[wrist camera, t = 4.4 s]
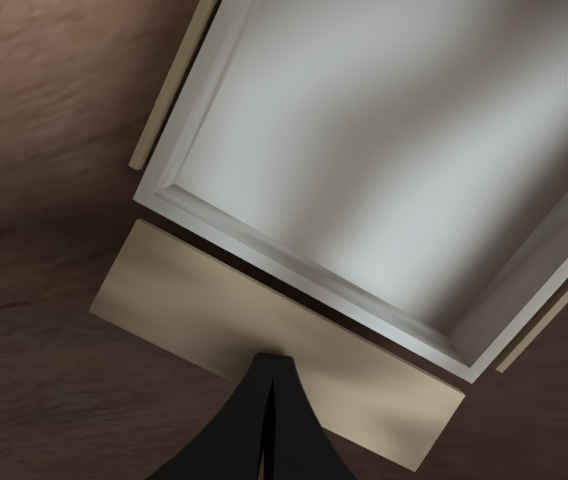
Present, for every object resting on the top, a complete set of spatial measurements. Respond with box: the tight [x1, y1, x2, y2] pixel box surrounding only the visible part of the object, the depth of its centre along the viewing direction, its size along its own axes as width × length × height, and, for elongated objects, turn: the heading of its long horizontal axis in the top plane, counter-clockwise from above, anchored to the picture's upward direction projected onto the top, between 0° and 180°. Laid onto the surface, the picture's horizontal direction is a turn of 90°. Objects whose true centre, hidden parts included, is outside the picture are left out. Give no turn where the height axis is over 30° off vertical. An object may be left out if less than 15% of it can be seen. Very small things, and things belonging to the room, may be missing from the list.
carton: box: [128, 0, 568, 383], centre depth 12 cm, size 15×13×3 cm
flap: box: [88, 218, 465, 472], centre depth 12 cm, size 13×1×3 cm
